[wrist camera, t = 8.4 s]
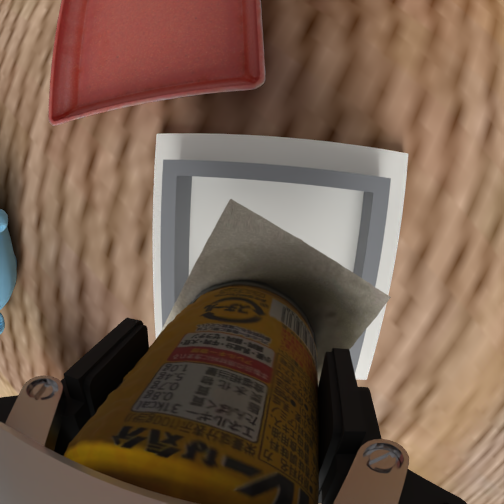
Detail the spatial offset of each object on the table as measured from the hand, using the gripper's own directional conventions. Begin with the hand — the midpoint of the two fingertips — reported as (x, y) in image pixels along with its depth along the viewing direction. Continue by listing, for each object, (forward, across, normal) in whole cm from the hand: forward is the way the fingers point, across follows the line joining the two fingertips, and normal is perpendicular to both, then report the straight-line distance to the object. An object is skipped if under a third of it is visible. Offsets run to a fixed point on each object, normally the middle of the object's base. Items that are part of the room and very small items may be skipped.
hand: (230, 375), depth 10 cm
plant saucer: (+15, +11, -20) cm, 27 cm away
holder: (+14, 0, 0) cm, 14 cm away
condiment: (+3, -1, 0) cm, 3 cm away
